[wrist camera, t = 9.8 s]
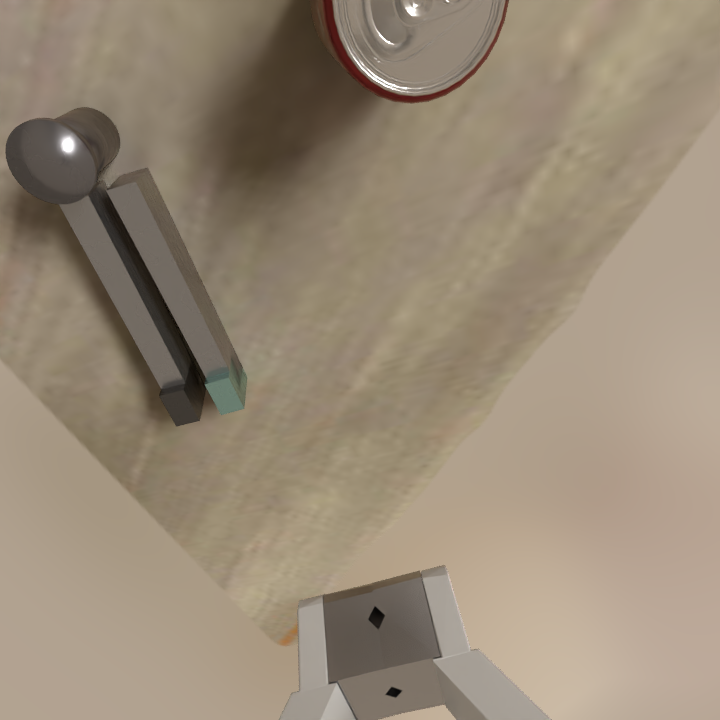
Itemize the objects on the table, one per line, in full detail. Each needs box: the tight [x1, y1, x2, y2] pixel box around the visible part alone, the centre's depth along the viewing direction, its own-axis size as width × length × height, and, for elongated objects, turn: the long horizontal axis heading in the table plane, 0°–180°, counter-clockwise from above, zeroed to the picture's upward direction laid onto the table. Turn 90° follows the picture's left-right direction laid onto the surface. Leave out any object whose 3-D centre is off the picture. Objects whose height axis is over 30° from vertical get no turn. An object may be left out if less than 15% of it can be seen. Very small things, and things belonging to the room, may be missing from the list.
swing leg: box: [106, 168, 247, 415], centre depth 36 cm, size 17×2×4 cm, turn 14°
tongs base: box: [6, 107, 206, 426], centre depth 34 cm, size 22×4×7 cm, turn 12°
